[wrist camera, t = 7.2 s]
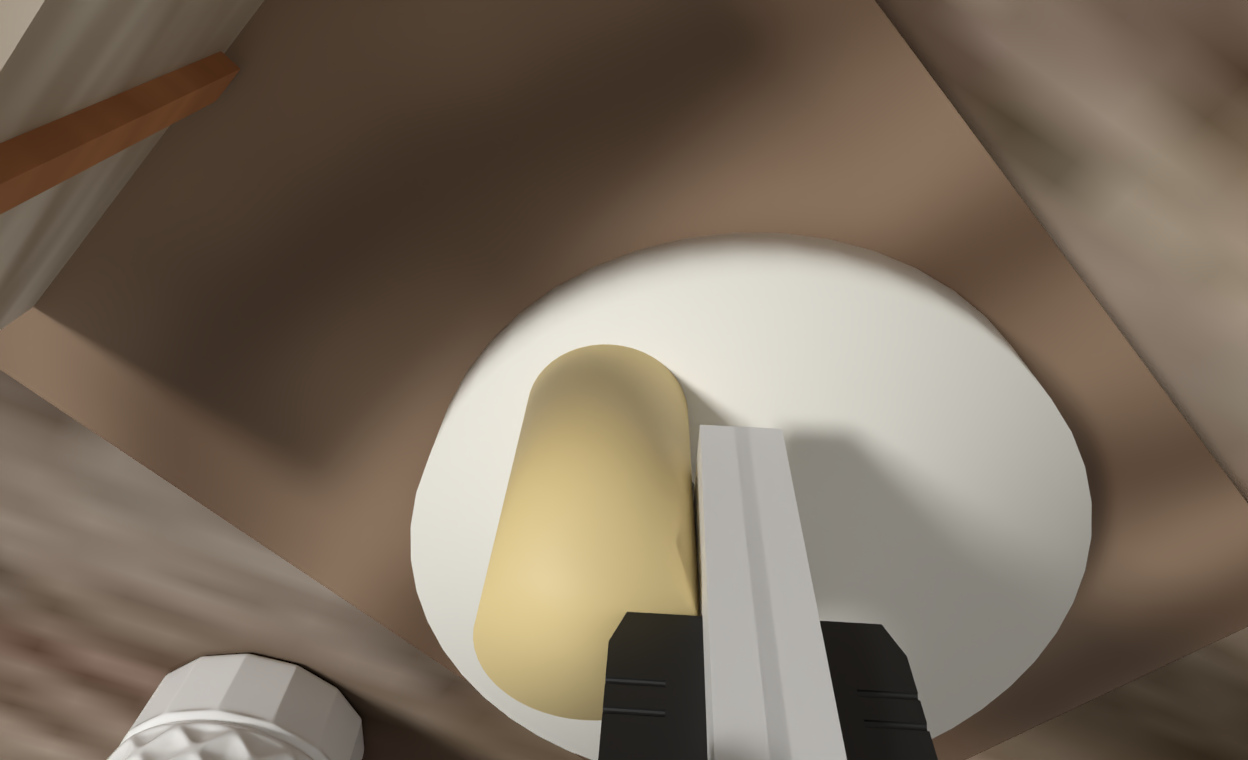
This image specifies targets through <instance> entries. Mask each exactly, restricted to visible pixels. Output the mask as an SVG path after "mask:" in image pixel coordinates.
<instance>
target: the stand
mask: <svg viewBox="0 0 1248 760" xmlns="http://www.w3.org/2000/svg"><path fill="white" fill-rule="evenodd" d="M726 233H786V234H794V235H801V236H809V237H817V238H824V239H831V240H834V241H838V242H842V243H846V244H850V245H853V246H857V247H861V248H865V249H869V250H872V251H876V252H878V253H880V254H883V255H885V256H888V257H890V258H892V259H895V260H897V261H900V262H902V263H905V264H907V265H909V266H912V267H914V268H917V269H918V270H920V271H922V272H923V273H925V274H927V275H928V276H930V277H932V278H933V279H935V280H937V281H939V282H940V283H942V284H944V285H945V286H947V287H949V288H950V289H952V290H954V291H955V292H956V293H957V294H959V295H960V296H961V297H962V298H964V299H965V300H966V301H967V302H968V303H970V304H971V305H972V306H973V307H975V308H976V309H977V310H978V311H979V312H981V313H982V314H983V315H984V316H985V317H986V318H987V319H988V320H989V321H990V322H991V323H992V324H993V326H994V327H995V328H996V329H997V330H998V331H999V332H1000V333H1001V335H1002V336H1003V337H1004V338H1005V339H1006V340H1007V341H1008V342H1009V344H1010V345H1011V346H1012V347H1013V349H1014V350H1015V351H1016V353H1017V354H1018V355H1019V357H1020V358H1021V359H1022V361H1023V362H1024V363H1025V365H1026V366H1027V367H1028V369H1029V370H1030V371H1031V373H1032V374H1033V375H1034V377H1035V378H1036V379H1037V381H1038V382H1039V383H1040V385H1041V386H1042V387H1043V389H1044V390H1045V391H1046V393H1047V394H1048V395H1049V397H1050V398H1051V399H1052V401H1053V403H1054V404H1055V406H1056V407H1057V409H1058V411H1059V412H1060V414H1061V416H1062V417H1063V419H1064V420H1065V422H1066V424H1067V425H1068V427H1069V429H1070V430H1071V432H1072V434H1073V437H1074V439H1075V442H1076V445H1077V447H1078V450H1079V452H1080V455H1081V457H1082V460H1083V463H1084V465H1085V469H1086V474H1087V480H1088V485H1089V491H1090V496H1091V502H1092V515H1091V542H1090V547H1089V552H1088V558H1087V563H1086V568H1085V572H1084V575H1083V578H1082V580H1081V583H1080V586H1079V588H1078V591H1077V594H1076V597H1075V599H1074V602H1073V604H1072V606H1071V608H1070V609H1069V611H1068V613H1067V615H1066V617H1065V618H1064V620H1063V622H1062V624H1061V626H1060V628H1059V629H1058V631H1057V633H1056V634H1055V636H1054V637H1053V638H1052V640H1051V641H1050V642H1049V644H1048V645H1047V646H1046V647H1045V649H1044V650H1043V651H1042V653H1041V654H1040V655H1039V657H1038V658H1037V659H1036V661H1035V662H1034V663H1033V664H1032V665H1031V666H1030V667H1029V668H1028V669H1027V670H1026V671H1025V672H1024V673H1023V674H1022V675H1021V676H1020V677H1019V678H1018V679H1017V680H1016V681H1015V682H1014V683H1013V684H1012V685H1011V686H1010V687H1009V688H1008V689H1006V690H1005V691H1004V692H1003V693H1002V694H1000V695H999V696H998V697H997V698H995V699H994V700H993V701H992V702H990V703H989V704H988V705H987V706H986V707H984V708H983V709H982V710H980V711H978V712H977V713H975V714H974V715H972V716H971V717H969V718H968V719H966V720H965V721H963V722H961V723H960V724H958V725H957V726H955V727H954V728H952V729H950V730H948V731H946V732H944V733H942V734H941V735H939V736H937V737H935V738H933V739H932V741H933V745H934V748H935V751H936V755H937V758H938V760H966V759H968V758H970V757H972V756H974V755H976V754H978V753H981V752H983V751H985V750H987V749H989V748H991V747H993V746H995V745H998V744H1000V743H1002V742H1004V741H1006V740H1008V739H1010V738H1012V737H1015V736H1017V735H1019V734H1021V733H1023V732H1025V731H1027V730H1029V729H1031V728H1034V727H1036V726H1038V725H1040V724H1042V723H1044V722H1046V721H1048V720H1051V719H1053V718H1055V717H1057V716H1059V715H1061V714H1063V713H1065V712H1068V711H1070V710H1072V709H1074V708H1076V707H1078V706H1080V705H1082V704H1084V703H1087V702H1089V701H1091V700H1093V699H1095V698H1097V697H1099V696H1101V695H1104V694H1106V693H1108V692H1110V691H1112V690H1114V689H1116V688H1118V687H1121V686H1123V685H1125V684H1127V683H1129V682H1131V681H1133V680H1135V679H1138V678H1140V677H1142V676H1144V675H1146V674H1148V673H1150V672H1152V671H1154V670H1157V669H1159V668H1161V667H1163V666H1165V665H1167V664H1169V663H1171V662H1174V661H1176V660H1178V659H1180V658H1182V657H1184V656H1186V655H1188V654H1191V653H1193V652H1195V651H1197V650H1199V649H1201V648H1203V647H1205V646H1207V645H1210V644H1212V643H1214V642H1216V641H1218V640H1220V639H1222V638H1224V637H1227V636H1229V635H1231V634H1233V633H1235V632H1237V631H1239V630H1241V629H1244V628H1246V627H1248V503H1247V502H1246V500H1245V499H1244V498H1243V496H1242V495H1241V494H1240V492H1239V491H1238V490H1237V488H1236V487H1235V486H1234V484H1233V483H1232V482H1231V480H1230V479H1229V478H1228V476H1227V475H1226V474H1225V472H1224V471H1223V469H1222V468H1221V467H1220V465H1219V464H1218V463H1217V461H1216V460H1215V459H1214V457H1213V456H1212V455H1211V453H1210V452H1209V451H1208V449H1207V448H1206V447H1205V445H1204V444H1203V442H1202V441H1201V440H1200V438H1199V437H1198V436H1197V434H1196V433H1195V432H1194V430H1193V429H1192V428H1191V426H1190V425H1189V424H1188V422H1187V421H1186V420H1185V418H1184V417H1183V415H1182V414H1181V413H1180V411H1179V410H1178V409H1177V407H1176V406H1175V405H1174V403H1173V402H1172V401H1171V399H1170V398H1169V397H1168V395H1167V394H1166V393H1165V391H1164V390H1163V389H1162V387H1161V386H1160V384H1159V383H1158V382H1157V380H1156V379H1155V378H1154V376H1153V375H1152V374H1151V372H1150V371H1149V370H1148V368H1147V367H1146V366H1145V364H1144V363H1143V362H1142V360H1141V359H1140V357H1139V356H1138V355H1137V353H1136V352H1135V351H1134V349H1133V348H1132V347H1131V345H1130V344H1129V343H1128V341H1127V340H1126V339H1125V337H1124V336H1123V335H1122V333H1121V332H1120V330H1119V329H1118V328H1117V326H1116V325H1115V324H1114V322H1113V321H1112V320H1111V318H1110V317H1109V316H1108V314H1107V313H1106V312H1105V310H1104V309H1103V308H1102V306H1101V305H1100V303H1099V302H1098V301H1097V299H1096V298H1095V297H1094V295H1093V294H1092V293H1091V291H1090V290H1089V289H1088V287H1087V286H1086V285H1085V283H1084V282H1083V281H1082V279H1081V278H1080V277H1079V275H1078V274H1077V272H1076V271H1075V270H1074V268H1073V267H1072V266H1071V264H1070V263H1069V262H1068V260H1067V259H1066V258H1065V256H1064V255H1063V254H1062V252H1061V251H1060V250H1059V248H1058V247H1057V245H1056V244H1055V243H1054V241H1053V240H1052V239H1051V237H1050V236H1049V235H1048V233H1047V232H1046V231H1045V229H1044V228H1043V227H1042V225H1041V224H1040V223H1039V221H1038V220H1037V218H1036V217H1035V216H1034V214H1033V213H1032V212H1031V210H1030V209H1029V208H1028V206H1027V205H1026V204H1025V202H1024V201H1023V200H1022V198H1021V197H1020V196H1019V194H1018V193H1017V192H1016V190H1015V189H1014V187H1013V186H1012V185H1011V183H1010V182H1009V181H1008V179H1007V178H1006V177H1005V175H1004V174H1003V173H1002V171H1001V170H1000V169H999V167H998V166H997V165H996V163H995V162H994V160H993V159H992V158H991V156H990V155H989V154H988V152H987V151H986V150H985V148H984V147H983V146H982V144H981V143H980V142H979V140H978V139H977V138H976V136H975V135H974V133H973V132H972V131H971V129H970V128H969V127H968V125H967V124H966V123H965V121H964V120H963V119H962V117H961V116H960V115H959V113H958V112H957V111H956V109H955V108H954V107H953V105H952V104H951V102H950V101H949V100H948V98H947V97H946V96H945V94H944V93H943V92H942V90H941V89H940V88H939V86H938V85H937V84H936V82H935V81H934V80H933V78H932V77H931V75H930V74H929V73H928V71H927V70H926V69H925V67H924V66H923V65H922V63H921V62H920V61H919V59H918V58H917V57H916V55H915V54H914V53H913V51H912V50H911V48H910V47H909V46H908V44H907V43H906V42H905V40H904V39H903V38H902V36H901V35H900V34H899V32H898V31H897V30H896V28H895V27H894V26H893V24H892V23H891V22H890V20H889V19H888V17H887V16H886V15H885V13H884V12H883V11H882V9H881V8H880V7H879V5H878V4H877V3H876V1H875V0H0V370H1V371H3V372H4V373H6V374H7V375H9V376H10V377H12V378H13V379H15V380H16V381H18V382H19V383H21V384H22V385H24V386H25V387H27V388H28V389H30V390H31V391H33V392H34V393H36V394H37V395H39V396H40V397H42V398H43V399H45V400H46V401H48V402H49V403H51V404H52V405H54V406H55V407H57V408H58V409H60V410H61V411H63V412H64V413H66V414H67V415H69V416H70V417H72V418H73V419H75V420H76V421H78V422H79V423H81V424H82V425H84V426H85V427H87V428H88V429H90V430H91V431H93V432H94V433H96V434H97V435H99V436H100V437H102V438H103V439H105V440H106V441H108V442H109V443H111V444H112V445H114V446H115V447H117V448H118V449H120V450H121V451H123V452H124V453H126V454H127V455H129V456H130V457H132V458H133V459H135V460H136V461H138V462H139V463H141V464H142V465H144V466H145V467H147V468H148V469H150V470H151V471H153V472H154V473H156V474H157V475H159V476H160V477H162V478H163V479H165V480H166V481H168V482H169V483H171V484H172V485H174V486H175V487H177V488H178V489H180V490H181V491H183V492H184V493H186V494H187V495H189V496H190V497H192V498H193V499H195V500H196V501H198V502H199V503H201V504H202V505H204V506H205V507H207V508H208V509H210V510H211V511H213V512H214V513H216V514H217V515H219V516H220V517H222V518H223V519H224V520H226V521H227V522H229V523H230V524H232V525H233V526H235V527H236V528H238V529H239V530H241V531H242V532H244V533H245V534H247V535H248V536H250V537H251V538H253V539H254V540H256V541H257V542H259V543H260V544H262V545H263V546H265V547H266V548H268V549H269V550H271V551H272V552H274V553H275V554H277V555H278V556H280V557H281V558H283V559H284V560H286V561H287V562H289V563H290V564H292V565H293V566H295V567H296V568H298V569H299V570H301V571H302V572H304V573H305V574H307V575H308V576H310V577H311V578H313V579H314V580H316V581H317V582H319V583H320V584H322V585H323V586H325V587H326V588H328V589H329V590H331V591H332V592H334V593H335V594H337V595H338V596H340V597H341V598H343V599H344V600H346V601H347V602H349V603H350V604H352V605H353V606H355V607H356V608H358V609H359V610H361V611H362V612H364V613H365V614H367V615H368V616H370V617H371V618H373V619H374V620H376V621H377V622H379V623H380V624H382V625H383V626H385V627H386V628H388V629H389V630H391V631H392V632H394V633H395V634H397V635H398V636H400V637H401V638H403V639H404V640H406V641H407V642H409V643H410V644H412V645H413V646H415V647H416V648H418V649H419V650H421V651H422V652H424V653H425V654H427V655H428V656H430V657H431V658H433V659H434V660H436V661H437V662H439V663H440V664H442V665H443V666H445V667H446V668H448V669H449V670H451V671H452V672H453V673H455V674H456V675H458V676H459V677H461V678H462V679H464V680H465V681H467V682H468V683H470V682H469V681H468V680H467V679H466V678H465V677H464V676H463V675H462V674H461V673H460V671H459V670H458V669H457V667H456V666H455V665H454V663H453V662H452V661H451V659H450V658H449V657H448V656H447V654H446V653H445V652H444V650H443V649H442V647H441V645H440V643H439V641H438V640H437V638H436V636H435V634H434V632H433V631H432V629H431V627H430V625H429V623H428V621H427V619H426V616H425V613H424V610H423V608H422V605H421V602H420V599H419V597H418V594H417V591H416V585H415V580H414V574H413V569H412V563H411V521H412V515H413V509H414V503H415V497H416V492H417V489H418V486H419V484H420V481H421V478H422V475H423V472H424V469H425V467H426V464H427V461H428V458H429V456H430V453H431V450H432V448H433V445H434V443H435V440H436V437H437V435H438V432H439V430H440V427H441V424H442V422H443V419H444V417H445V414H446V411H447V409H448V406H449V404H450V402H451V400H452V398H453V396H454V394H455V393H456V391H457V389H458V387H459V385H460V383H461V382H462V380H463V378H464V376H465V374H466V373H467V371H468V370H469V368H470V367H471V366H472V364H473V363H474V362H475V361H476V359H477V358H478V357H479V355H480V354H481V353H482V352H483V350H484V349H485V348H486V346H487V345H488V344H489V342H490V341H491V340H492V339H493V338H494V337H495V336H496V335H497V334H498V333H499V332H501V331H502V330H503V329H504V328H505V327H506V326H507V325H508V324H509V323H510V322H511V321H512V320H513V319H514V318H515V317H516V316H517V315H518V314H519V313H520V312H522V311H523V310H525V309H526V308H527V307H529V306H530V305H531V304H533V303H534V302H536V301H537V300H538V299H540V298H541V297H543V296H544V295H545V294H547V293H548V292H549V291H551V290H552V289H554V288H555V287H557V286H559V285H561V284H563V283H564V282H566V281H568V280H570V279H572V278H574V277H576V276H577V275H579V274H581V273H583V272H585V271H587V270H589V269H591V268H592V267H594V266H597V265H600V264H602V263H605V262H607V261H610V260H613V259H615V258H618V257H620V256H623V255H626V254H628V253H631V252H634V251H636V250H639V249H643V248H647V247H652V246H656V245H660V244H664V243H668V242H672V241H676V240H680V239H684V238H692V237H701V236H709V235H718V234H726ZM470 684H471V683H470ZM471 685H472V684H471ZM576 755H578V754H576ZM578 756H579V757H581V758H582V759H584V760H591V759H588V758H586V757H583V756H580V755H578Z"/></svg>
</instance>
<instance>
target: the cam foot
mask: <svg viewBox="0 0 1248 760" xmlns="http://www.w3.org/2000/svg"><path fill="white" fill-rule="evenodd" d="M700 425H716V426H738V427H757V428H776V429H782V431H783V436H784V441H785V447H786V452H787V457H788V462H789V467H790V472H791V477H792V482H793V487H794V492H795V497H796V503H797V508H798V513H799V518H800V523H801V528H802V533H803V538H804V543H805V548H806V554H807V559H808V564H809V569H810V574H811V579H812V584H813V589H814V594H815V599H816V604H817V610H818V615H819V620H820V621H834V622H851V623H868V624H882V625H883V627H884V628H885V629H886V630H887V632H888V633H889V634H890V636H891V637H892V638H893V639H894V641H895V642H896V643H897V644H898V646H899V647H900V648H901V650H902V651H903V652H904V653H905V655H906V656H907V658H908V661H909V665H910V668H911V671H912V675H913V678H914V681H915V685H916V688H917V691H918V700H920V701H921V705H922V708H923V711H924V715H925V718H926V721H927V731H930V735H931V738H932V739H933V738H935V737H937V736H939V735H941V734H942V733H944V732H946V731H948V730H950V729H952V728H954V727H955V726H957V725H958V724H960V723H961V722H963V721H965V720H966V719H968V718H969V717H971V716H972V715H974V714H975V713H977V712H978V711H980V710H982V709H983V708H984V707H986V706H987V705H988V704H989V703H990V702H992V701H993V700H994V699H995V698H997V697H998V696H999V695H1000V694H1002V693H1003V692H1004V691H1005V690H1006V689H1008V688H1009V687H1010V686H1011V685H1012V684H1013V683H1014V682H1015V681H1016V680H1017V679H1018V678H1019V677H1020V676H1021V675H1022V674H1023V673H1024V672H1025V671H1026V670H1027V669H1028V668H1029V667H1030V666H1031V665H1032V664H1033V663H1034V662H1035V661H1036V659H1037V658H1038V657H1039V655H1040V654H1041V653H1042V651H1043V650H1044V649H1045V647H1046V646H1047V645H1048V644H1049V642H1050V641H1051V640H1052V638H1053V637H1054V636H1055V634H1056V633H1057V631H1058V629H1059V628H1060V626H1061V624H1062V622H1063V620H1064V618H1065V617H1066V615H1067V613H1068V611H1069V609H1070V608H1071V606H1072V604H1073V602H1074V599H1075V597H1076V594H1077V591H1078V588H1079V586H1080V583H1081V580H1082V578H1083V575H1084V572H1085V568H1086V563H1087V558H1088V552H1089V547H1090V542H1091V515H1092V502H1091V496H1090V491H1089V485H1088V480H1087V474H1086V469H1085V465H1084V463H1083V460H1082V457H1081V455H1080V452H1079V450H1078V447H1077V445H1076V442H1075V439H1074V437H1073V434H1072V432H1071V430H1070V429H1069V427H1068V425H1067V424H1066V422H1065V420H1064V419H1063V417H1062V416H1061V414H1060V412H1059V411H1058V409H1057V407H1056V406H1055V404H1054V403H1053V401H1052V399H1051V398H1050V397H1049V395H1048V394H1047V393H1046V391H1045V390H1044V389H1043V387H1042V386H1041V385H1040V383H1039V382H1038V381H1037V379H1036V378H1035V377H1034V375H1033V374H1032V373H1031V371H1030V370H1029V369H1028V367H1027V366H1026V365H1025V363H1024V362H1023V361H1022V359H1021V358H1020V357H1019V355H1018V354H1017V353H1016V351H1015V350H1014V349H1013V347H1012V346H1011V345H1010V344H1009V342H1008V341H1007V340H1006V339H1005V338H1004V337H1003V336H1002V335H1001V333H1000V332H999V331H998V330H997V329H996V328H995V327H994V326H993V324H992V323H991V322H990V321H989V320H988V319H987V318H986V317H985V316H984V315H983V314H982V313H981V312H979V311H978V310H977V309H976V308H975V307H973V306H972V305H971V304H970V303H968V302H967V301H966V300H965V299H964V298H962V297H961V296H960V295H959V294H957V293H956V292H955V291H954V290H952V289H950V288H949V287H947V286H945V285H944V284H942V283H940V282H939V281H937V280H935V279H933V278H932V277H930V276H928V275H927V274H925V273H923V272H922V271H920V270H918V269H917V268H914V267H912V266H909V265H907V264H905V263H902V262H900V261H897V260H895V259H892V258H890V257H888V256H885V255H883V254H880V253H878V252H876V251H872V250H869V249H865V248H861V247H857V246H853V245H850V244H846V243H842V242H838V241H834V240H831V239H824V238H817V237H809V236H801V235H794V234H786V233H726V234H718V235H709V236H701V237H692V238H684V239H680V240H676V241H672V242H668V243H664V244H660V245H656V246H652V247H647V248H643V249H639V250H636V251H634V252H631V253H628V254H626V255H623V256H620V257H618V258H615V259H613V260H610V261H607V262H605V263H602V264H600V265H597V266H594V267H592V268H591V269H589V270H587V271H585V272H583V273H581V274H579V275H577V276H576V277H574V278H572V279H570V280H568V281H566V282H564V283H563V284H561V285H559V286H557V287H555V288H554V289H552V290H551V291H549V292H548V293H547V294H545V295H544V296H543V297H541V298H540V299H538V300H537V301H536V302H534V303H533V304H531V305H530V306H529V307H527V308H526V309H525V310H523V311H522V312H520V313H519V314H518V315H517V316H516V317H515V318H514V319H513V320H512V321H511V322H510V323H509V324H508V325H507V326H506V327H505V328H504V329H503V330H502V331H501V332H499V333H498V334H497V335H496V336H495V337H494V338H493V339H492V340H491V341H490V342H489V344H488V345H487V346H486V348H485V349H484V350H483V352H482V353H481V354H480V355H479V357H478V358H477V359H476V361H475V362H474V363H473V364H472V366H471V367H470V368H469V370H468V371H467V373H466V374H465V376H464V378H463V380H462V382H461V383H460V385H459V387H458V389H457V391H456V393H455V394H454V396H453V398H452V400H451V402H450V404H449V406H448V409H447V411H446V414H445V417H444V419H443V422H442V424H441V427H440V430H439V432H438V435H437V437H436V440H435V443H434V445H433V448H432V450H431V453H430V456H429V458H428V461H427V464H426V467H425V469H424V472H423V475H422V478H421V481H420V484H419V486H418V489H417V492H416V497H415V503H414V509H413V515H412V521H411V563H412V569H413V574H414V580H415V585H416V591H417V594H418V597H419V599H420V602H421V605H422V608H423V610H424V613H425V616H426V619H427V621H428V623H429V625H430V627H431V629H432V631H433V632H434V634H435V636H436V638H437V640H438V641H439V643H440V645H441V647H442V649H443V650H444V652H445V653H446V654H447V656H448V657H449V658H450V659H451V661H452V662H453V663H454V665H455V666H456V667H457V669H458V670H459V671H460V673H461V674H462V675H463V676H464V677H465V678H466V679H467V680H468V681H469V682H470V683H471V684H472V685H473V686H474V687H475V688H476V689H477V690H478V692H479V693H480V694H481V695H482V696H483V697H484V698H486V699H487V700H488V701H489V702H491V703H492V704H493V705H494V706H496V707H497V708H498V709H499V710H501V711H502V712H503V713H504V714H506V715H507V716H508V717H509V718H511V719H512V720H514V721H515V722H517V723H519V724H520V725H522V726H523V727H525V728H527V729H528V730H530V731H531V732H533V733H535V734H536V735H538V736H539V737H541V738H544V739H546V740H548V741H550V742H552V743H554V744H556V745H558V746H560V747H562V748H564V749H566V750H568V751H570V752H573V753H575V754H578V755H580V756H583V757H586V758H588V759H591V760H598V755H599V744H600V733H601V722H602V712H603V699H604V688H605V676H606V665H607V654H608V642H609V640H610V638H611V637H612V635H613V633H614V632H615V630H616V629H617V627H618V625H619V624H620V622H621V621H622V619H623V617H624V616H625V614H626V613H627V612H640V613H657V614H673V615H690V616H700V608H699V588H698V569H697V550H696V534H695V518H694V501H693V496H694V485H695V474H696V463H697V452H698V441H699V430H700Z"/></svg>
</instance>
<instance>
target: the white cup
mask: <svg viewBox="0 0 1248 760" xmlns="http://www.w3.org/2000/svg"><path fill="white" fill-rule="evenodd" d="M363 754H364V740H363V730H362V720H361V718H360V716H359V715H358V714H357V712H356V711H355V710H354V709H353V707H352V706H351V705H350V703H349V702H348V701H347V700H346V698H345V697H344V696H343V695H342V693H341V692H340V691H339V690H338V689H337V688H336V687H334V686H333V685H331V684H329V683H328V682H326V681H324V680H322V679H321V678H319V677H317V676H316V675H314V674H312V673H310V672H309V671H307V670H305V669H303V668H302V667H300V666H298V665H295V664H291V663H287V662H284V661H279V660H275V659H271V658H267V657H262V656H258V655H253V654H248V653H245V654H229V655H214V656H203V657H200V658H198V659H196V660H194V661H192V662H190V663H188V664H186V665H184V666H182V667H180V668H178V669H176V670H174V671H173V672H171V673H169V674H167V675H166V676H165V678H164V679H163V680H162V682H161V683H160V685H159V686H158V688H157V689H156V691H155V692H154V694H153V695H152V697H151V698H150V700H149V701H148V703H147V704H146V706H145V707H144V709H143V710H142V712H141V714H140V715H139V717H138V718H137V720H136V721H135V723H134V724H133V726H132V727H131V729H130V730H129V732H128V733H127V734H126V736H125V737H124V739H123V740H122V742H121V744H120V746H119V747H118V748H117V749H116V750H115V751H114V752H113V753H112V754H111V755H110V756H109V757H108V758H107V759H106V760H362V758H363Z"/></svg>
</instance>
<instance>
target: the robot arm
mask: <svg viewBox="0 0 1248 760" xmlns="http://www.w3.org/2000/svg"><path fill="white" fill-rule="evenodd" d="M693 501H694V518H695V534H696V550H697V569H698V588H699V608H700V616H690V615H673V614H657V613H640V612H627V613H626V614H625V616H624V617H623V619H622V621H621V622H620V624H619V625H618V627H617V629H616V630H615V632H614V633H613V635H612V637H611V638H610V640H609V642H608V654H607V665H606V676H605V688H604V699H603V712H602V722H601V733H600V744H599V755H598V760H938V758H937V755H936V751H935V748H934V745H933V741H932V738H931V735H930V731H927V721H926V718H925V715H924V711H923V708H922V705H921V701H920V700H918V691H917V688H916V685H915V681H914V678H913V675H912V671H911V668H910V665H909V661H908V658H907V656H906V655H905V653H904V652H903V651H902V650H901V648H900V647H899V646H898V644H897V643H896V642H895V641H894V639H893V638H892V637H891V636H890V634H889V633H888V632H887V630H886V629H885V628H884V627H883V625H882V624H868V623H851V622H834V621H820V620H819V615H818V610H817V604H816V599H815V594H814V589H813V584H812V579H811V574H810V569H809V564H808V559H807V554H806V548H805V543H804V538H803V533H802V528H801V523H800V518H799V513H798V508H797V503H796V497H795V492H794V487H793V482H792V477H791V472H790V467H789V462H788V457H787V452H786V447H785V441H784V436H783V431H782V429H776V428H757V427H738V426H716V425H700V430H699V441H698V452H697V463H696V474H695V485H694V496H693Z"/></svg>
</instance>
